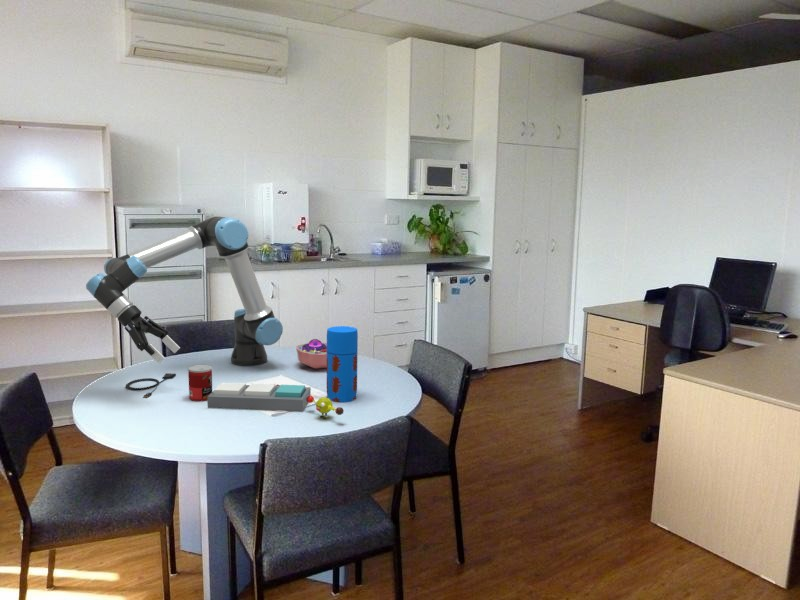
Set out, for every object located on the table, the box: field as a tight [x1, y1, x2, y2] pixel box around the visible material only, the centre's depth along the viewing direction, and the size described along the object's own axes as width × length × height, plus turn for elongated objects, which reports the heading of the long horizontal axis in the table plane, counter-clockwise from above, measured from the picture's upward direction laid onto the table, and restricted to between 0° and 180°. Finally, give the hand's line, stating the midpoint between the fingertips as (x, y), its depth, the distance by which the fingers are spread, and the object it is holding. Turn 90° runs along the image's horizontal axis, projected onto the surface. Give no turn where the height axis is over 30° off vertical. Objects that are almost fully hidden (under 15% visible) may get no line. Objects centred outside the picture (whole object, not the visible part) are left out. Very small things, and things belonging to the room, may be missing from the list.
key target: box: [275, 384, 306, 398], centre depth 218 cm, size 8×8×4 cm
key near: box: [213, 382, 247, 395], centre depth 219 cm, size 8×8×4 cm
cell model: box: [295, 338, 327, 370], centre depth 265 cm, size 17×20×11 cm
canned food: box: [187, 364, 213, 402], centre depth 222 cm, size 8×8×11 cm
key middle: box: [245, 383, 277, 396], centre depth 218 cm, size 8×8×4 cm
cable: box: [125, 372, 177, 399], centre depth 235 cm, size 14×28×2 cm, turn 179°
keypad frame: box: [206, 384, 312, 412], centre depth 218 cm, size 14×32×4 cm, turn 87°
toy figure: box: [306, 395, 344, 419], centre depth 205 cm, size 18×6×7 cm, turn 45°
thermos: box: [326, 325, 359, 403], centre depth 224 cm, size 11×11×25 cm
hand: (169, 355), depth 221 cm, fingers open, 13 cm apart
